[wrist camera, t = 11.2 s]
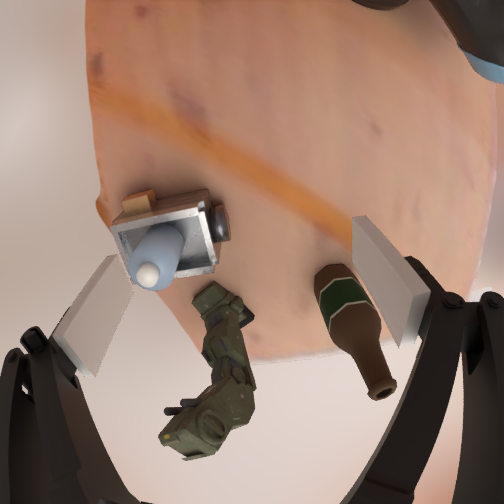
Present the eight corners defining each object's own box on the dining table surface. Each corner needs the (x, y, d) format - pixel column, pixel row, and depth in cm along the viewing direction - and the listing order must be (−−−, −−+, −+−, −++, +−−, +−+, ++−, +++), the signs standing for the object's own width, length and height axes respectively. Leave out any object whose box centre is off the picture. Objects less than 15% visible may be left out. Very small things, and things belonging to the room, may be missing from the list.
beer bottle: (357, 287, 48) (414, 392, 27) (319, 304, 50) (359, 417, 28) (346, 254, 45) (413, 363, 24) (305, 273, 46) (347, 394, 25)
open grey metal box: (219, 172, 38) (214, 186, 31) (233, 241, 43) (232, 269, 36) (123, 194, 38) (101, 213, 31) (144, 257, 43) (129, 285, 36)
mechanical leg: (272, 326, 50) (255, 471, 22) (244, 344, 52) (209, 480, 24) (221, 272, 48) (148, 401, 20) (194, 295, 50) (114, 418, 22)
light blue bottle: (177, 220, 34) (161, 251, 27) (188, 257, 37) (177, 295, 29) (139, 228, 35) (116, 260, 27) (152, 263, 37) (134, 300, 30)
